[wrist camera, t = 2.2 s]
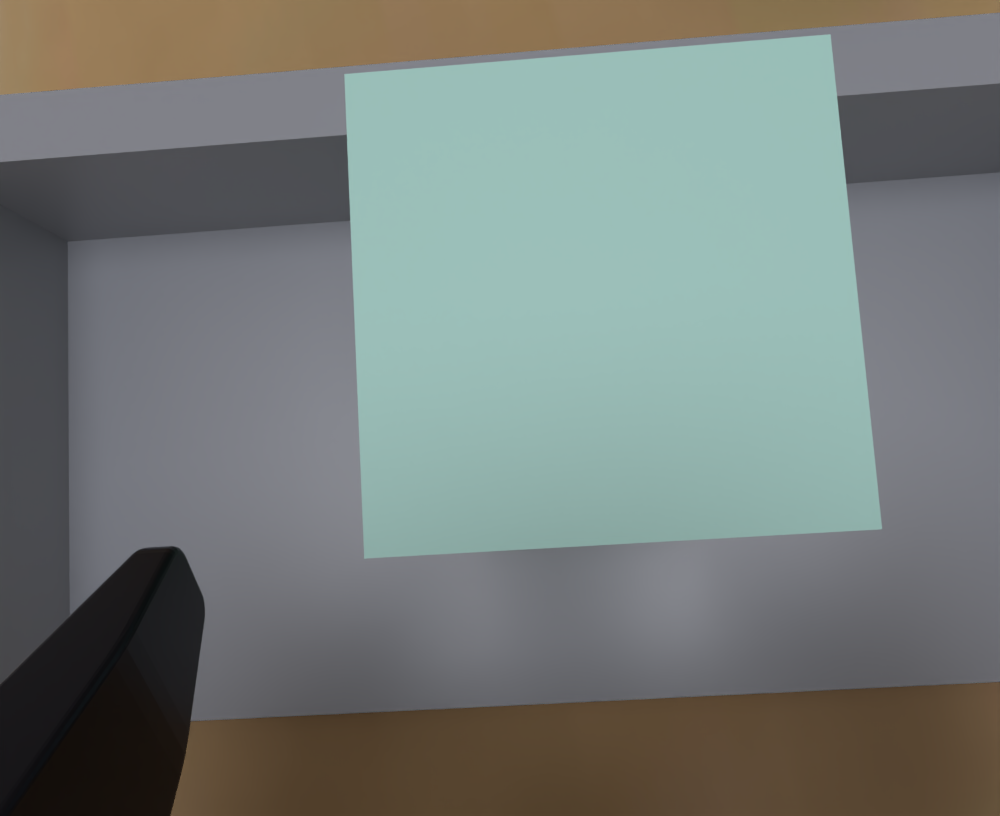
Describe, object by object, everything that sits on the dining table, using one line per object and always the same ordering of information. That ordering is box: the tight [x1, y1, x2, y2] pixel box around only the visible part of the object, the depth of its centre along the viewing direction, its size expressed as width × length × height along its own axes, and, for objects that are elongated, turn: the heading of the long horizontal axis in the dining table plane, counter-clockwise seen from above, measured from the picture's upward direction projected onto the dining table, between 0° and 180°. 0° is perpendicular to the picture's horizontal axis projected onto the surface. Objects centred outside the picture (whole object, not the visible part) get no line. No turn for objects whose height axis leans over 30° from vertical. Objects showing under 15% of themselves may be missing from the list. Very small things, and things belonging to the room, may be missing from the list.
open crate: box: [0, 13, 1000, 721], centre depth 17 cm, size 12×24×5 cm, turn 93°
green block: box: [344, 34, 882, 559], centre depth 14 cm, size 5×5×10 cm
